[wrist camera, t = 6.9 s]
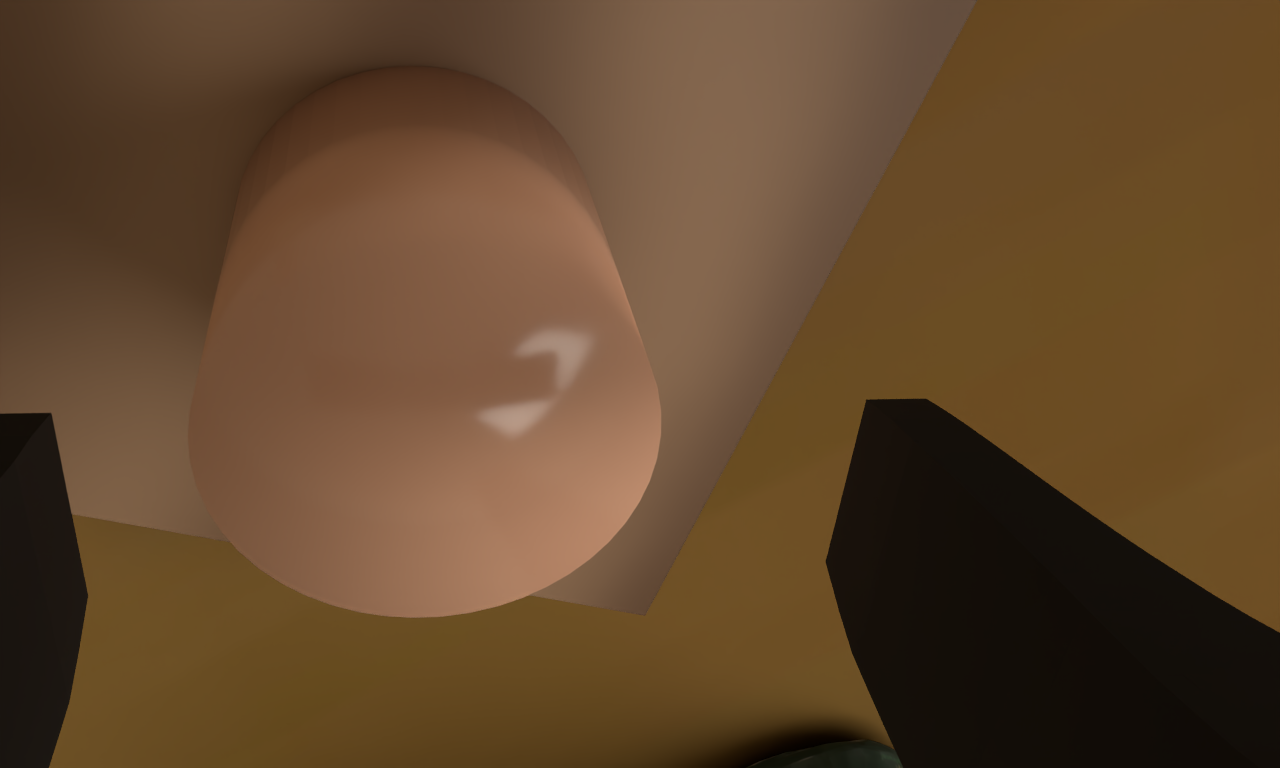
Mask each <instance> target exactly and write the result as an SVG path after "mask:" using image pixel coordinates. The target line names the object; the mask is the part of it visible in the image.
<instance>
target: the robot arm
mask: <svg viewBox="0 0 1280 768" xmlns="http://www.w3.org/2000/svg"><path fill="white" fill-rule="evenodd" d="M826 565H827V568H828V572H829V576H830V579H831V583H832V587H833V590H834V594H835V597H836V601H837V605H838V608H839V612H840V615H841V619H842V622H843V625H844V628H845V631H846V635H847V638H848V641H849V644H850V648H851V651H852V654H853V656H854V658H855V661H856V663H857V665H858V668H859V670H860V673H861V675H862V677H863V679H864V682H865V684H866V686H867V688H868V691H869V693H870V695H871V697H872V700H873V702H874V704H875V706H876V709H877V711H878V713H879V715H880V718H881V720H882V722H883V725H884V727H885V729H886V731H887V733H888V736H889V738H890V740H891V742H892V744H893V747H894V749H895V751H896V753H897V755H898V757H899V760H900V762H901V764H902V766H903V768H1280V633H1279V632H1277V631H1275V630H1274V629H1272V628H1270V627H1268V626H1266V625H1265V624H1263V623H1261V622H1259V621H1257V620H1255V619H1254V618H1252V617H1250V616H1248V615H1247V614H1245V613H1243V612H1242V611H1240V610H1238V609H1236V608H1235V607H1233V606H1231V605H1230V604H1228V603H1226V602H1225V601H1223V600H1221V599H1220V598H1218V597H1216V596H1215V595H1213V594H1211V593H1210V592H1208V591H1207V590H1205V589H1203V588H1202V587H1200V586H1199V585H1197V584H1196V583H1194V582H1192V581H1191V580H1189V579H1188V578H1186V577H1185V576H1183V575H1181V574H1180V573H1178V572H1177V571H1175V570H1174V569H1172V568H1170V567H1169V566H1167V565H1166V564H1164V563H1163V562H1161V561H1160V560H1158V559H1156V558H1155V557H1153V556H1152V555H1150V554H1149V553H1147V552H1146V551H1144V550H1143V549H1141V548H1140V547H1138V546H1137V545H1135V544H1134V543H1132V542H1131V541H1129V540H1128V539H1126V538H1125V537H1123V536H1122V535H1120V534H1119V533H1117V532H1116V531H1114V530H1113V529H1112V528H1110V527H1109V526H1107V525H1106V524H1104V523H1103V522H1101V521H1100V520H1099V519H1097V518H1096V517H1094V516H1093V515H1091V514H1090V513H1089V512H1087V511H1086V510H1084V509H1083V508H1081V507H1080V506H1079V505H1077V504H1076V503H1074V502H1073V501H1072V500H1070V499H1069V498H1067V497H1066V496H1065V495H1063V494H1062V493H1060V492H1059V491H1058V490H1056V489H1055V488H1053V487H1052V486H1051V485H1049V484H1048V483H1046V482H1045V481H1044V480H1042V479H1041V478H1040V477H1038V476H1037V475H1035V474H1034V473H1033V472H1031V471H1030V470H1029V469H1027V468H1026V467H1024V466H1023V465H1022V464H1020V463H1019V462H1018V461H1016V460H1015V459H1013V458H1012V457H1011V456H1009V455H1008V454H1006V453H1005V452H1004V451H1002V450H1001V449H1000V448H998V447H997V446H995V445H994V444H993V443H991V442H990V441H988V440H987V439H986V438H984V437H983V436H981V435H980V434H979V433H977V432H976V431H974V430H973V429H972V428H970V427H969V426H967V425H966V424H964V423H963V422H962V421H960V420H959V419H957V418H956V417H954V416H953V415H951V414H950V413H948V412H947V411H945V410H944V409H942V408H940V407H939V406H937V405H935V404H934V403H932V402H931V401H929V400H927V399H878V400H866V403H865V407H864V411H863V415H862V419H861V423H860V427H859V431H858V435H857V439H856V443H855V447H854V451H853V455H852V459H851V463H850V467H849V471H848V475H847V479H846V483H845V487H844V491H843V495H842V499H841V503H840V507H839V511H838V515H837V519H836V523H835V527H834V531H833V535H832V539H831V543H830V547H829V551H828V555H827V559H826ZM87 598H88V593H87V588H86V583H85V578H84V573H83V568H82V563H81V558H80V553H79V548H78V543H77V538H76V533H75V528H74V523H73V518H72V513H71V508H70V503H69V498H68V493H67V488H66V483H65V478H64V473H63V468H62V463H61V458H60V453H59V448H58V443H57V438H56V433H55V428H54V423H53V418H52V413H4V414H0V768H49V765H50V762H51V759H52V756H53V753H54V749H55V746H56V743H57V740H58V737H59V734H60V730H61V727H62V724H63V721H64V717H65V714H66V711H67V708H68V704H69V700H70V695H71V690H72V684H73V679H74V674H75V669H76V663H77V658H78V653H79V647H80V641H81V635H82V629H83V622H84V616H85V610H86V604H87Z"/></svg>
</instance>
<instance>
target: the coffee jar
mask: <svg viewBox="0 0 1280 768" xmlns="http://www.w3.org/2000/svg"><path fill="white" fill-rule="evenodd" d="M746 768H903V766H902V764H901V762H900V760H899V757H898V755H897V753H896V751H895V750H894V749H892V748H890V747H888V746H886V745H883V744H881V743H878V742H874V741H871V740H854V741H846V742H835V743H827V744H823V745H819V746H815V747H811V748H806V749H802V750H797V751H791V752H786V753H782V754H779V755H776V756H773V757H770V758H768V759H765V760H762V761H759V762H757V763H755V764H753V765H751V766H749V767H746Z"/></svg>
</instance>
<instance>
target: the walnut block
mask: <svg viewBox="0 0 1280 768" xmlns="http://www.w3.org/2000/svg"><path fill="white" fill-rule="evenodd" d="M976 2H977V0H0V414H4V413H52V418H53V423H54V428H55V433H56V438H57V443H58V448H59V453H60V458H61V463H62V468H63V473H64V478H65V483H66V488H67V493H68V498H69V503H70V508H71V513H72V514H74V515H80V516H86V517H91V518H97V519H103V520H108V521H114V522H120V523H125V524H131V525H137V526H142V527H148V528H153V529H159V530H165V531H170V532H176V533H182V534H187V535H193V536H199V537H204V538H210V539H216V540H221V541H227V542H230V541H229V540H228V539H227V538H226V536H225V535H224V534H223V533H222V532H221V530H220V529H219V527H218V526H217V524H216V523H215V521H214V520H213V518H212V517H211V515H210V514H209V512H208V511H207V509H206V506H205V504H204V502H203V500H202V498H201V495H200V493H199V491H198V489H197V486H196V482H195V479H194V475H193V472H192V468H191V464H190V456H189V446H188V427H189V413H190V408H191V403H192V399H193V394H194V390H195V385H196V381H197V376H198V372H199V367H200V362H201V358H202V353H203V349H204V344H205V340H206V335H207V331H208V326H209V322H210V317H211V313H212V308H213V304H214V299H215V295H216V290H217V286H218V281H219V277H220V272H221V268H222V263H223V258H224V254H225V249H226V245H227V240H228V236H229V231H230V227H231V222H232V218H233V213H234V209H235V204H236V200H237V196H238V192H239V188H240V183H241V179H242V177H243V174H244V172H245V170H246V167H247V165H248V162H249V160H250V158H251V156H252V155H253V153H254V151H255V150H256V148H257V146H258V145H259V143H260V141H261V140H262V138H263V137H264V136H265V135H266V134H267V132H268V131H269V130H270V129H271V128H272V126H273V125H274V124H275V123H276V121H277V120H279V119H280V118H281V117H282V116H283V115H284V114H285V113H286V112H287V111H289V110H290V109H291V108H292V107H293V106H294V105H295V104H297V103H298V102H300V101H301V100H303V99H304V98H306V97H307V96H309V95H310V94H312V93H313V92H315V91H317V90H319V89H321V88H323V87H325V86H327V85H329V84H331V83H333V82H335V81H337V80H340V79H343V78H346V77H349V76H352V75H355V74H358V73H361V72H366V71H371V70H376V69H381V68H386V67H401V66H423V67H438V68H443V69H448V70H454V71H459V72H463V73H466V74H470V75H473V76H476V77H479V78H482V79H485V80H487V81H489V82H492V83H494V84H496V85H498V86H500V87H502V88H504V89H506V90H508V91H510V92H512V93H513V94H515V95H516V96H518V97H519V98H521V99H522V100H524V101H526V102H527V103H529V104H530V105H531V106H532V107H533V108H534V109H536V110H537V111H538V112H539V113H540V114H542V115H543V116H544V117H545V118H546V119H547V120H548V121H549V122H550V123H551V124H552V125H553V126H554V128H555V129H556V130H557V131H558V132H559V133H560V134H561V135H562V137H563V138H564V140H565V141H566V143H567V144H568V146H569V147H570V149H571V150H572V152H573V153H574V155H575V157H576V159H577V161H578V163H579V165H580V167H581V169H582V171H583V173H584V176H585V179H586V182H587V185H588V188H589V191H590V193H591V196H592V199H593V202H594V205H595V208H596V211H597V213H598V216H599V219H600V222H601V225H602V228H603V231H604V234H605V236H606V239H607V242H608V245H609V248H610V251H611V254H612V256H613V259H614V262H615V265H616V268H617V271H618V274H619V276H620V279H621V282H622V285H623V288H624V291H625V294H626V297H627V299H628V302H629V305H630V308H631V311H632V314H633V317H634V319H635V322H636V325H637V328H638V331H639V334H640V337H641V339H642V342H643V345H644V348H645V351H646V354H647V357H648V360H649V362H650V365H651V368H652V372H653V375H654V378H655V381H656V384H657V387H658V393H659V400H660V406H661V438H660V444H659V451H658V457H657V461H656V464H655V467H654V470H653V473H652V476H651V479H650V482H649V484H648V486H647V488H646V490H645V492H644V494H643V496H642V498H641V500H640V502H639V504H638V505H637V507H636V508H635V510H634V511H633V513H632V514H631V516H630V517H629V519H628V520H627V522H626V523H625V524H624V525H623V527H622V528H621V529H620V530H619V531H618V532H617V533H616V535H615V536H614V537H613V538H612V539H611V540H610V541H609V542H608V543H607V544H606V545H605V546H604V547H603V548H602V549H601V550H600V551H599V552H597V553H596V554H595V555H594V556H593V557H592V558H591V559H590V560H588V561H587V562H585V563H584V564H583V565H581V566H580V567H578V568H577V569H576V570H574V571H573V572H571V573H570V574H569V575H567V576H565V577H563V578H562V579H560V580H558V581H556V582H555V583H553V584H551V585H549V586H548V587H546V588H543V589H541V590H539V591H537V592H534V593H532V594H530V595H532V596H537V597H543V598H549V599H554V600H560V601H565V602H571V603H577V604H582V605H588V606H594V607H599V608H605V609H611V610H616V611H622V612H628V613H633V614H639V615H644V616H645V615H646V613H647V611H648V609H649V607H650V605H651V604H652V602H653V600H654V598H655V596H656V594H657V592H658V591H659V589H660V587H661V585H662V583H663V581H664V579H665V578H666V576H667V574H668V572H669V570H670V568H671V567H672V565H673V563H674V561H675V559H676V557H677V555H678V554H679V552H680V550H681V548H682V546H683V544H684V542H685V541H686V539H687V537H688V535H689V533H690V531H691V529H692V528H693V526H694V524H695V522H696V520H697V518H698V517H699V515H700V513H701V511H702V509H703V507H704V505H705V504H706V502H707V500H708V498H709V496H710V494H711V492H712V491H713V489H714V487H715V485H716V483H717V481H718V479H719V478H720V476H721V474H722V472H723V470H724V468H725V466H726V465H727V463H728V461H729V459H730V457H731V455H732V454H733V452H734V450H735V448H736V446H737V444H738V442H739V441H740V439H741V437H742V435H743V433H744V431H745V429H746V428H747V426H748V424H749V422H750V420H751V418H752V416H753V415H754V413H755V411H756V409H757V407H758V405H759V404H760V402H761V400H762V398H763V396H764V394H765V392H766V391H767V389H768V387H769V385H770V383H771V381H772V379H773V378H774V376H775V374H776V372H777V370H778V368H779V366H780V365H781V363H782V361H783V359H784V357H785V355H786V354H787V352H788V350H789V348H790V346H791V344H792V342H793V341H794V339H795V337H796V335H797V333H798V331H799V329H800V328H801V326H802V324H803V322H804V320H805V318H806V316H807V315H808V313H809V311H810V309H811V307H812V305H813V303H814V302H815V300H816V298H817V296H818V294H819V292H820V291H821V289H822V287H823V285H824V283H825V281H826V279H827V278H828V276H829V274H830V272H831V270H832V268H833V266H834V265H835V263H836V261H837V259H838V257H839V255H840V253H841V252H842V250H843V248H844V246H845V244H846V242H847V241H848V239H849V237H850V235H851V233H852V231H853V229H854V228H855V226H856V224H857V222H858V220H859V218H860V216H861V215H862V213H863V211H864V209H865V207H866V205H867V203H868V202H869V200H870V198H871V196H872V194H873V192H874V191H875V189H876V187H877V185H878V183H879V181H880V179H881V178H882V176H883V174H884V172H885V170H886V168H887V166H888V165H889V163H890V161H891V159H892V157H893V155H894V153H895V152H896V150H897V148H898V146H899V144H900V142H901V141H902V139H903V137H904V135H905V133H906V131H907V129H908V128H909V126H910V124H911V122H912V120H913V118H914V116H915V115H916V113H917V111H918V109H919V107H920V105H921V103H922V102H923V100H924V98H925V96H926V94H927V92H928V90H929V89H930V87H931V85H932V83H933V81H934V79H935V78H936V76H937V74H938V72H939V70H940V68H941V66H942V65H943V63H944V61H945V59H946V57H947V55H948V53H949V52H950V50H951V48H952V46H953V44H954V42H955V40H956V39H957V37H958V35H959V33H960V31H961V29H962V28H963V26H964V24H965V22H966V20H967V18H968V16H969V15H970V13H971V11H972V9H973V7H974V5H975V3H976Z"/></svg>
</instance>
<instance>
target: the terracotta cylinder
mask: <svg viewBox="0 0 1280 768" xmlns="http://www.w3.org/2000/svg"><path fill="white" fill-rule="evenodd" d="M660 438H661V406H660V400H659V393H658V387H657V384H656V381H655V378H654V375H653V372H652V368H651V365H650V362H649V360H648V357H647V354H646V351H645V348H644V345H643V342H642V339H641V337H640V334H639V331H638V328H637V325H636V322H635V319H634V317H633V314H632V311H631V308H630V305H629V302H628V299H627V297H626V294H625V291H624V288H623V285H622V282H621V279H620V276H619V274H618V271H617V268H616V265H615V262H614V259H613V256H612V254H611V251H610V248H609V245H608V242H607V239H606V236H605V234H604V231H603V228H602V225H601V222H600V219H599V216H598V213H597V211H596V208H595V205H594V202H593V199H592V196H591V193H590V191H589V188H588V185H587V182H586V179H585V176H584V173H583V171H582V169H581V167H580V165H579V163H578V161H577V159H576V157H575V155H574V153H573V152H572V150H571V149H570V147H569V146H568V144H567V143H566V141H565V140H564V138H563V137H562V135H561V134H560V133H559V132H558V131H557V130H556V129H555V128H554V126H553V125H552V124H551V123H550V122H549V121H548V120H547V119H546V118H545V117H544V116H543V115H542V114H540V113H539V112H538V111H537V110H536V109H534V108H533V107H532V106H531V105H530V104H529V103H527V102H526V101H524V100H522V99H521V98H519V97H518V96H516V95H515V94H513V93H512V92H510V91H508V90H506V89H504V88H502V87H500V86H498V85H496V84H494V83H492V82H489V81H487V80H485V79H482V78H479V77H476V76H473V75H470V74H466V73H463V72H459V71H454V70H448V69H443V68H438V67H423V66H401V67H386V68H381V69H376V70H371V71H366V72H361V73H358V74H355V75H352V76H349V77H346V78H343V79H340V80H337V81H335V82H333V83H331V84H329V85H327V86H325V87H323V88H321V89H319V90H317V91H315V92H313V93H312V94H310V95H309V96H307V97H306V98H304V99H303V100H301V101H300V102H298V103H297V104H295V105H294V106H293V107H292V108H291V109H290V110H289V111H287V112H286V113H285V114H284V115H283V116H282V117H281V118H280V119H279V120H277V121H276V123H275V124H274V125H273V126H272V128H271V129H270V130H269V131H268V132H267V134H266V135H265V136H264V137H263V138H262V140H261V141H260V143H259V145H258V146H257V148H256V150H255V151H254V153H253V155H252V156H251V158H250V160H249V162H248V165H247V167H246V170H245V172H244V174H243V177H242V179H241V183H240V188H239V192H238V196H237V200H236V204H235V209H234V213H233V218H232V222H231V227H230V231H229V236H228V240H227V245H226V249H225V254H224V258H223V263H222V268H221V272H220V277H219V281H218V286H217V290H216V295H215V299H214V304H213V308H212V313H211V317H210V322H209V326H208V331H207V335H206V340H205V344H204V349H203V353H202V358H201V362H200V367H199V372H198V376H197V381H196V385H195V390H194V394H193V399H192V403H191V408H190V413H189V427H188V446H189V456H190V464H191V468H192V472H193V475H194V479H195V482H196V486H197V489H198V491H199V493H200V495H201V498H202V500H203V502H204V504H205V506H206V509H207V511H208V512H209V514H210V515H211V517H212V518H213V520H214V521H215V523H216V524H217V526H218V527H219V529H220V530H221V532H222V533H223V534H224V535H225V536H226V538H227V539H228V540H229V541H230V542H231V543H232V544H233V545H234V547H235V548H236V549H237V550H238V551H239V552H240V553H241V554H242V555H244V556H245V557H246V558H247V559H248V560H249V561H251V562H252V563H253V564H254V565H255V566H257V567H258V568H259V569H260V570H262V571H263V572H265V573H266V574H268V575H269V576H271V577H272V578H274V579H276V580H277V581H279V582H280V583H282V584H284V585H286V586H288V587H290V588H292V589H294V590H296V591H298V592H300V593H302V594H304V595H306V596H308V597H311V598H314V599H316V600H319V601H322V602H324V603H327V604H330V605H333V606H337V607H341V608H345V609H349V610H353V611H357V612H362V613H369V614H375V615H382V616H392V617H411V618H418V617H442V616H450V615H457V614H465V613H471V612H475V611H480V610H484V609H488V608H493V607H497V606H500V605H503V604H506V603H509V602H512V601H515V600H518V599H521V598H523V597H525V596H528V595H530V594H532V593H534V592H537V591H539V590H541V589H543V588H546V587H548V586H549V585H551V584H553V583H555V582H556V581H558V580H560V579H562V578H563V577H565V576H567V575H569V574H570V573H571V572H573V571H574V570H576V569H577V568H578V567H580V566H581V565H583V564H584V563H585V562H587V561H588V560H590V559H591V558H592V557H593V556H594V555H595V554H596V553H597V552H599V551H600V550H601V549H602V548H603V547H604V546H605V545H606V544H607V543H608V542H609V541H610V540H611V539H612V538H613V537H614V536H615V535H616V533H617V532H618V531H619V530H620V529H621V528H622V527H623V525H624V524H625V523H626V522H627V520H628V519H629V517H630V516H631V514H632V513H633V511H634V510H635V508H636V507H637V505H638V504H639V502H640V500H641V498H642V496H643V494H644V492H645V490H646V488H647V486H648V484H649V482H650V479H651V476H652V473H653V470H654V467H655V464H656V461H657V457H658V451H659V444H660Z"/></svg>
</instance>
